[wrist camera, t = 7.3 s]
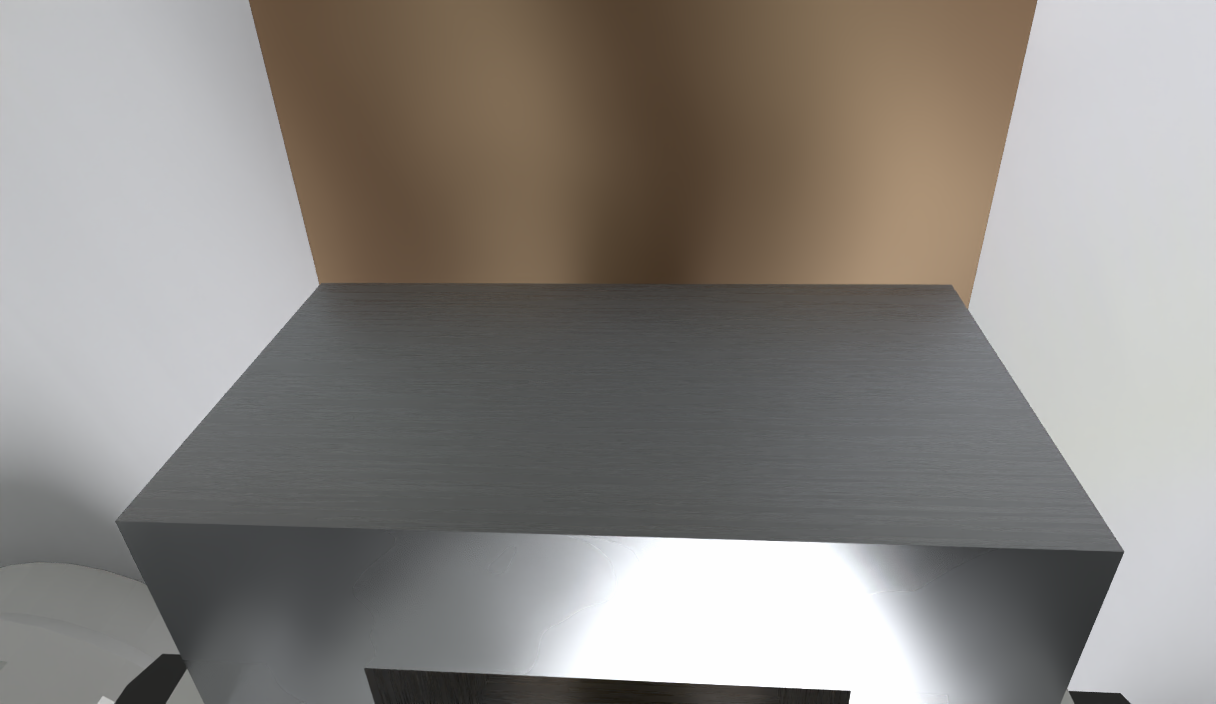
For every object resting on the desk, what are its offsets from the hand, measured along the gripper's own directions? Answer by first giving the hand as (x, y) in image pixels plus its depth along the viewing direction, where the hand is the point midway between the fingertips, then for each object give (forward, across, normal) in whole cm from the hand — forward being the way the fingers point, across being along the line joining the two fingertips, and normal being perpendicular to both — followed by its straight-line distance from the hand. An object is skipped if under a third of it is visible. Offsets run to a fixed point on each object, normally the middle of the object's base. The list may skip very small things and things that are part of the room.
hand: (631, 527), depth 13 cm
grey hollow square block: (0, 0, 0) cm, 0 cm away
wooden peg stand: (+7, 0, 0) cm, 7 cm away
